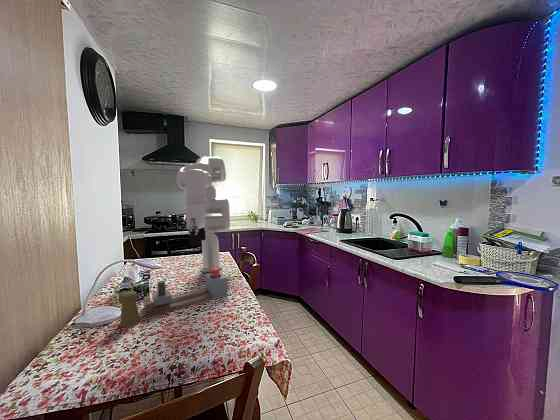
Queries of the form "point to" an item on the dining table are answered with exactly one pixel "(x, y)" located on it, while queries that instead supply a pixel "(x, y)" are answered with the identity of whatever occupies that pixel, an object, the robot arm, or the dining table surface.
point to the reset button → (215, 272)
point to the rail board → (176, 302)
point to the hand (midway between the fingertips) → (198, 242)
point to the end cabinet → (216, 285)
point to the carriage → (161, 295)
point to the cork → (129, 309)
